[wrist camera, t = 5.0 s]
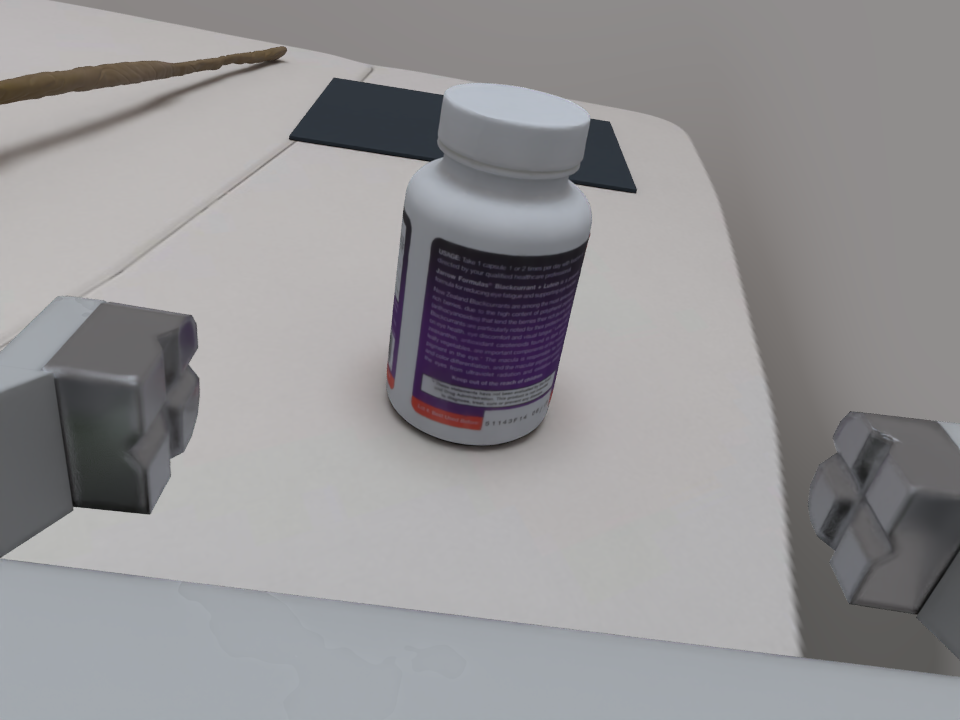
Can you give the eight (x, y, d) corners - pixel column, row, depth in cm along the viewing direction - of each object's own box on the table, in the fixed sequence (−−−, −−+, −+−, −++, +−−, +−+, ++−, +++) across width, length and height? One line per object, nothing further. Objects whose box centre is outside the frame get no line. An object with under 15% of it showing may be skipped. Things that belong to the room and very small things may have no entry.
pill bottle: (580, 418, 27) (659, 127, 21) (454, 473, 23) (512, 144, 18) (475, 340, 30) (522, 70, 25) (351, 379, 27) (375, 77, 21)
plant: (275, 57, 60) (276, -65, 56) (368, 82, 58) (377, -42, 54) (-390, 219, 28) (-508, -34, 24) (-238, 286, 26) (-337, 23, 22)
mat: (609, 124, 58) (609, 121, 58) (636, 193, 47) (636, 189, 46) (333, 80, 57) (333, 77, 57) (289, 139, 45) (289, 135, 45)
